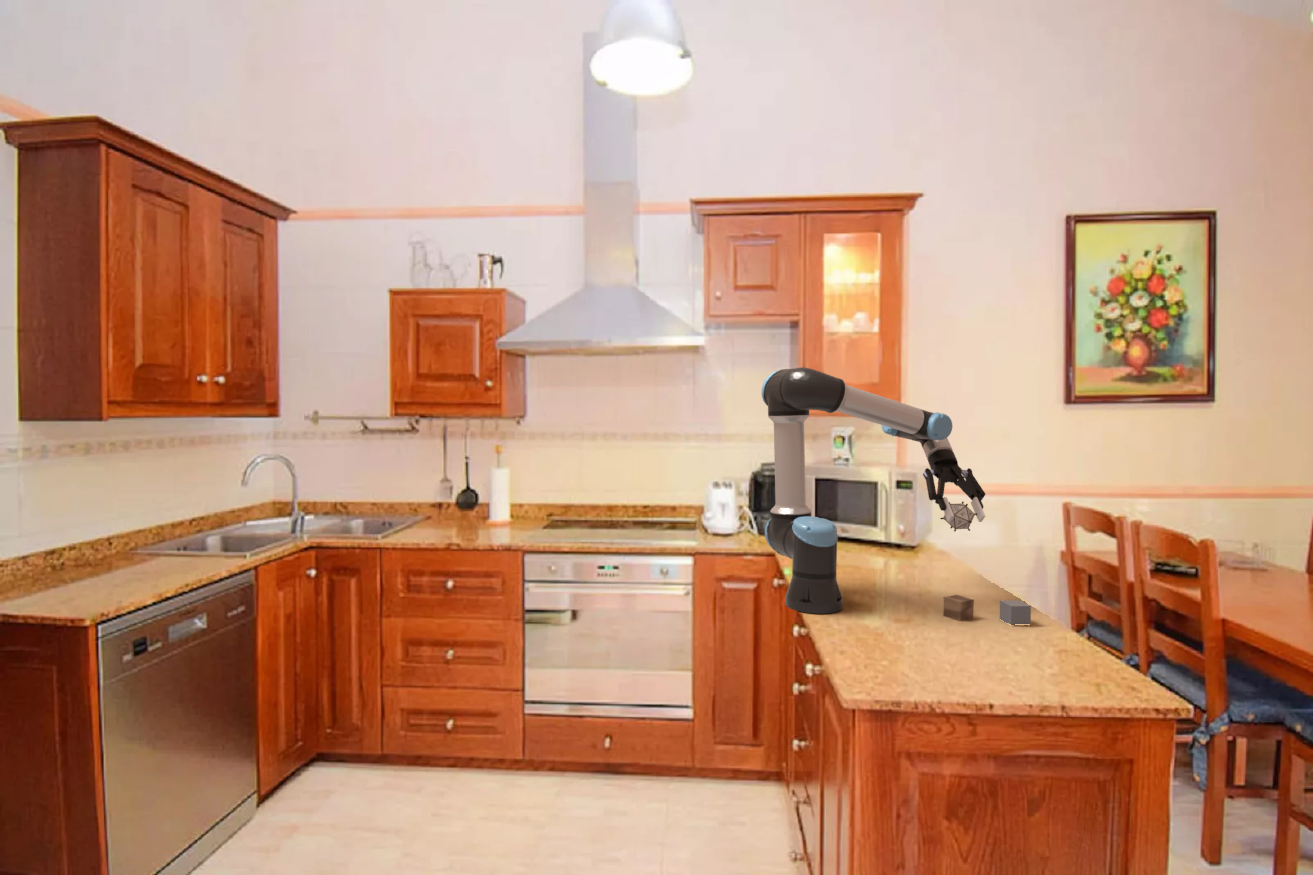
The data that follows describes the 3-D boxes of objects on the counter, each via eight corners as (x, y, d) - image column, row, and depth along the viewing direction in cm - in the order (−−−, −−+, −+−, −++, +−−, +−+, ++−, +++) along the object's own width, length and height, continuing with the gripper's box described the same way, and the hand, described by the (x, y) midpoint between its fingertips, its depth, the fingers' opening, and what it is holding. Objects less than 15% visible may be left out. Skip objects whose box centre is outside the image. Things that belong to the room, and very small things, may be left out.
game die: (965, 544, 187) (982, 519, 181) (934, 532, 189) (951, 507, 183) (966, 524, 194) (983, 500, 188) (936, 512, 196) (952, 487, 190)
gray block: (1011, 626, 168) (1011, 606, 167) (999, 620, 173) (1000, 600, 172) (1030, 626, 168) (1030, 606, 168) (1018, 619, 173) (1018, 600, 173)
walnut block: (960, 621, 171) (960, 602, 171) (943, 616, 176) (943, 597, 175) (973, 618, 174) (973, 599, 173) (956, 613, 178) (956, 594, 178)
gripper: (969, 464, 204) (998, 526, 189) (901, 464, 203) (924, 527, 187) (979, 447, 198) (1009, 510, 183) (909, 447, 197) (934, 510, 182)
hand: (966, 518), depth 185 cm, fingers closed on game die, 8 cm apart
